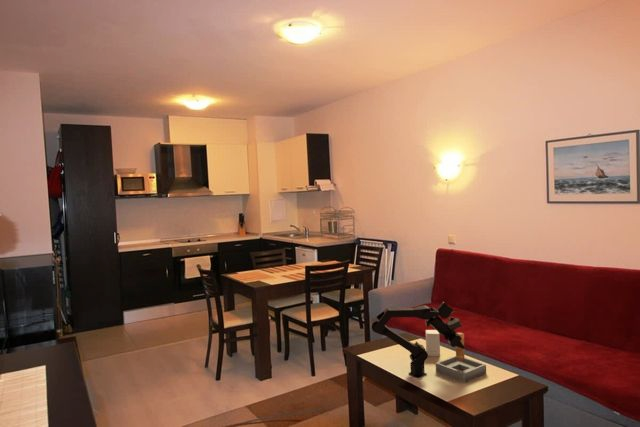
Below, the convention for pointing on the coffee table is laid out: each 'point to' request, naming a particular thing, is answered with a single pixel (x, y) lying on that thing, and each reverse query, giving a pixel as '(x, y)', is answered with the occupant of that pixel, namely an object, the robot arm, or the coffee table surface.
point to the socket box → (469, 366)
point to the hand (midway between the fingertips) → (462, 346)
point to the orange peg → (460, 349)
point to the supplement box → (432, 343)
